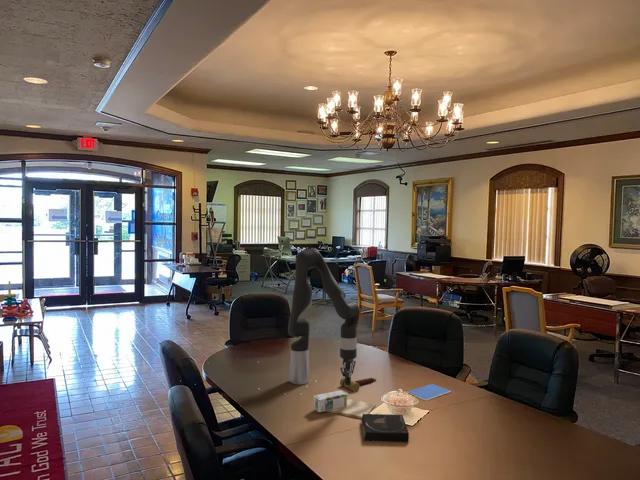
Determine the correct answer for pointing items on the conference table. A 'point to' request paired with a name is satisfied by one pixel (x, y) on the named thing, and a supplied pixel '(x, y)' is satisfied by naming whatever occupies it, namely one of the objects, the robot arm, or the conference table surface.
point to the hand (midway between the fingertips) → (347, 384)
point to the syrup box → (330, 401)
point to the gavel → (356, 383)
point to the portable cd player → (384, 428)
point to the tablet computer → (429, 392)
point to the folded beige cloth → (354, 409)
